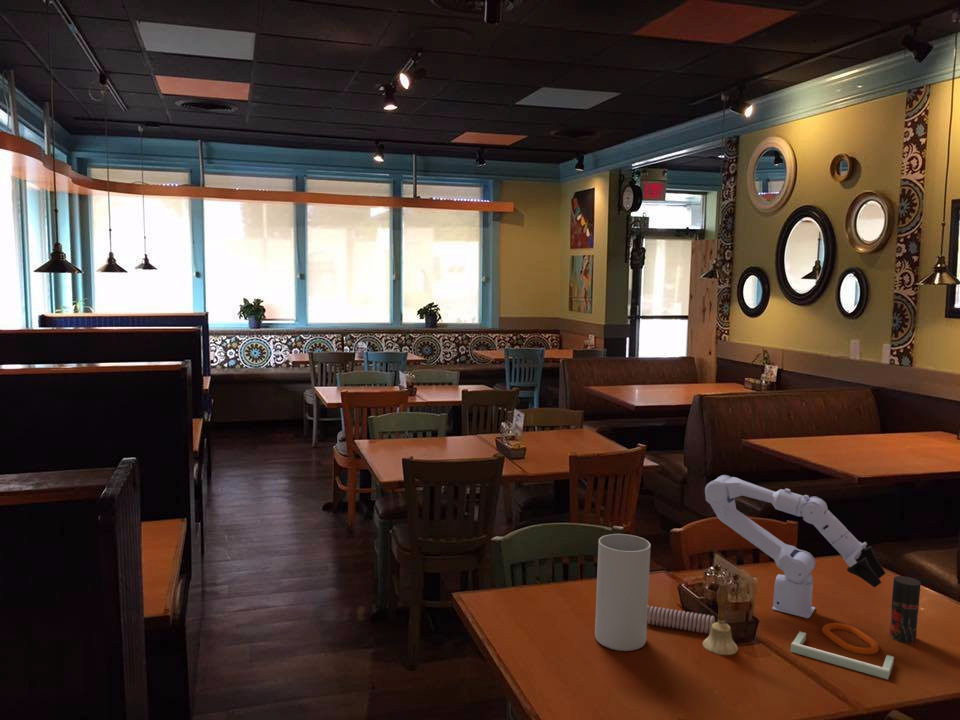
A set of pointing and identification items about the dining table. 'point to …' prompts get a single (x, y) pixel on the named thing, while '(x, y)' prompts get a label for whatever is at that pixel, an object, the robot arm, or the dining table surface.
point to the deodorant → (904, 609)
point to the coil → (680, 619)
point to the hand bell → (721, 629)
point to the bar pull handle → (841, 658)
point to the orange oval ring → (848, 647)
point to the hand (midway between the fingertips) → (880, 580)
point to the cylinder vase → (622, 591)
